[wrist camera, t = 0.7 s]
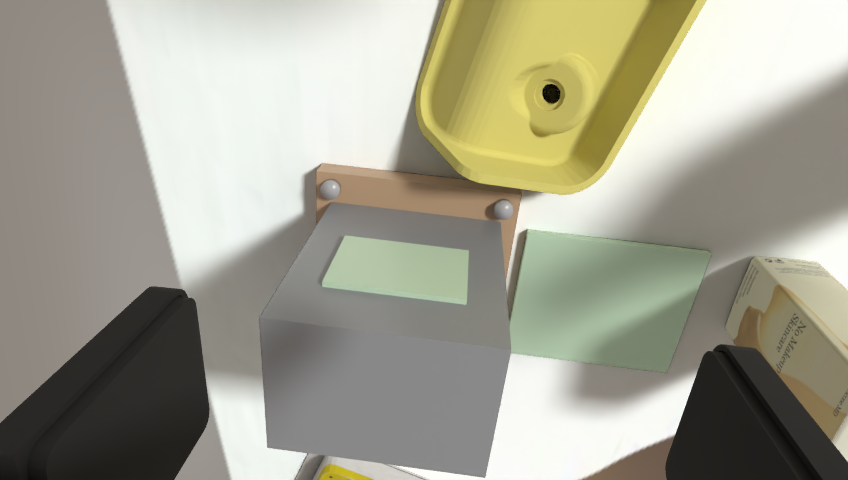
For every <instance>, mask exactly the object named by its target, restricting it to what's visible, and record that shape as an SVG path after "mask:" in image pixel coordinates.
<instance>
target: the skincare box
mask: <svg viewBox="0 0 848 480" xmlns="http://www.w3.org/2000/svg"><path fill="white" fill-rule="evenodd" d="M725 330H726V331H727V333H728V334H729V336H730V337H731V339H732V341H733V342H734V344H735V345H736V346H743V347H752V348H755V349H757V350H758V351H759V352H760V353H761V354H762V355H763V357H764V358H765V359H766V360H767V362H768V363H769V364H770V365H771V367H772V368H773V369H774V370H775V372H776V373H777V374H778V375H779V377H780V378H781V379H782V380H783V382H784V383H785V384H786V385H787V387H788V388H789V389H790V390H791V392H792V393H793V394H794V395H795V397H796V398H797V399H798V400H799V402H800V403H801V404H802V405H803V407H804V408H805V409H806V410H807V412H808V413H809V414H810V415H811V417H812V418H813V419H814V420H815V422H816V423H817V424H818V425H819V427H820V428H821V429H822V430H823V432H824V433H825V434H826V435H827V436H828V438H829V439H830V440H831V441H832V443H833V444H834V445H835V446H836V448H837V449H838V450H839V451H840V453H841V454H842V455H843V456H844V458H845V459H846V460H847V461H848V290H847V289H846V288H845V287H844V286H843V285H842V284H840V283H839V282H838V281H837V280H836V279H835V278H834V277H833V276H832V275H831V274H830V273H829V272H828V271H826V270H825V269H824V268H823V267H822V266H821V265H820V264H819V263H817V262H813V261H804V260H795V259H786V258H774V257H753V259H752V260H751V263H750V265H749V267H748V269H747V272H746V274H745V276H744V278H743V281H742V283H741V286H740V288H739V291H738V293H737V296H736V298H735V301H734V303H733V306H732V309H731V312H730V314H729V317H728V320H727V323H726V326H725Z"/></svg>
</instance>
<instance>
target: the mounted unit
mask: <svg viewBox="0 0 848 480" xmlns="http://www.w3.org/2000/svg"><path fill="white" fill-rule="evenodd" d="M521 195H522V194H521V189H518V188H511V187H504V186H497V185H490V184H483V183H478V182H475V181H472V180H463V179H455V178H446V177H438V176H429V175H420V174H412V173H403V172H394V171H386V170H377V169H368V168H360V167H351V166H342V165H334V164H325V163H322V164H321V166H320V167H319V168H318V169H317V171H316V205H317V226H316V227H315V229H314V231H313V232H312V234H311V235H310V237H309V239H308V240H307V242H306V243H305V245H304V247H303V248H302V250H301V251H300V253H299V255H298V256H297V258H296V259H295V261H294V263H293V264H292V266H291V267H290V269H289V271H288V272H287V274H286V275H285V277H284V279H283V280H282V282H281V283H280V285H279V287H278V288H277V290H276V291H275V293H274V295H273V296H272V298H271V299H270V301H269V302H268V304H267V306H266V307H265V309H264V310H263V312H262V314H261V315H260V317H259V323H260V339H261V355H262V370H263V386H264V402H265V417H266V433H267V448H274V449H281V450H288V451H296V452H303V453H310V454H317V455H325V456H332V457H339V458H346V459H354V460H361V461H368V462H375V463H383V464H390V465H397V466H404V467H412V468H419V469H426V470H433V471H441V472H448V473H455V474H462V475H470V476H477V477H484V478H485V476H486V471H487V466H488V461H489V457H490V452H491V447H492V442H493V437H494V432H495V427H496V422H497V417H498V412H499V408H500V403H501V398H502V393H503V388H504V383H505V378H506V373H507V368H508V363H509V359H510V354H511V340H510V328H509V316H508V304H507V292H506V277H507V271H508V266H509V260H510V255H511V249H512V244H513V239H514V233H515V228H516V222H517V217H518V211H519V206H520V201H521Z"/></svg>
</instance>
